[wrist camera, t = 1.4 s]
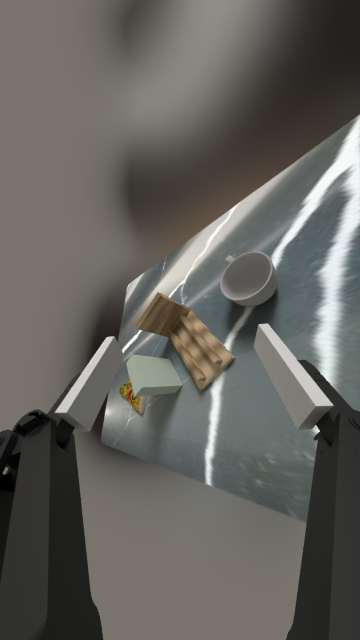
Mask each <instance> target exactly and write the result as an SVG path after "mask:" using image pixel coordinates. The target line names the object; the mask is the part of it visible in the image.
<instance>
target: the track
mask: <svg viewBox="0 0 360 640" xmlns="http://www.w3.org/2000/svg"><path fill="white" fill-rule="evenodd" d="M136 326H137V328H138V329H140V330H143V331H147V332H151V333H155V334H159V335H162V336H166V337H169V338H170V339H171V341H172V343H173V345H174V346H175V348H176V350H177V351H178V353H179V355H180V357H181V358H182V360H183V362H184V364H185V365H186V367H187V369H188V370H189V372H190V374H191V376H192V377H193V379H194V381H195V382H196V384H197V386H198V388H199V389H200V390H203V389H204V388H205V387H206V386H207V385H208V384H209V383H210V382H211V381H213V380H214V379H215V378H216V377H217V376H218V375H219V374H220V373H221V372H222V371H223V370H224V369H225V368H226V367H227V366H228V365H229V364H230V363H231V362H232V361H233V360H234V359H235V357H234V356H233V355H232V354H231V353H230V352H229V351H228V350H227V349H226V348H225V346H224V345H223V344H222V343H221V342H220V341H219V340H218V339H217V338H216V337H215V336H214V334H213V333H212V332H211V331H210V330H209V329H208V328H207V327H206V326H205V325H204V323H203V322H202V321H201V320H200V319H199V318H198V317H197V316H196V315H195V314H194V313H193V311H192V310H191V309H190V308H188V307H186V306H184V305H182V304H180V303H178V302H176V301H174V300H172V299H170V298H168V297H166V296H164V295H163V294H161V293H159V292H158V293H157V294H156V296H155V297H154V299H153V300H152V302H151V303H150V305H149V306H148V308H147V309H146V311H145V312H144V314H143V315H142V317H141V318H140V320H139V321H138V323H137V324H136Z"/></svg>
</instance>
